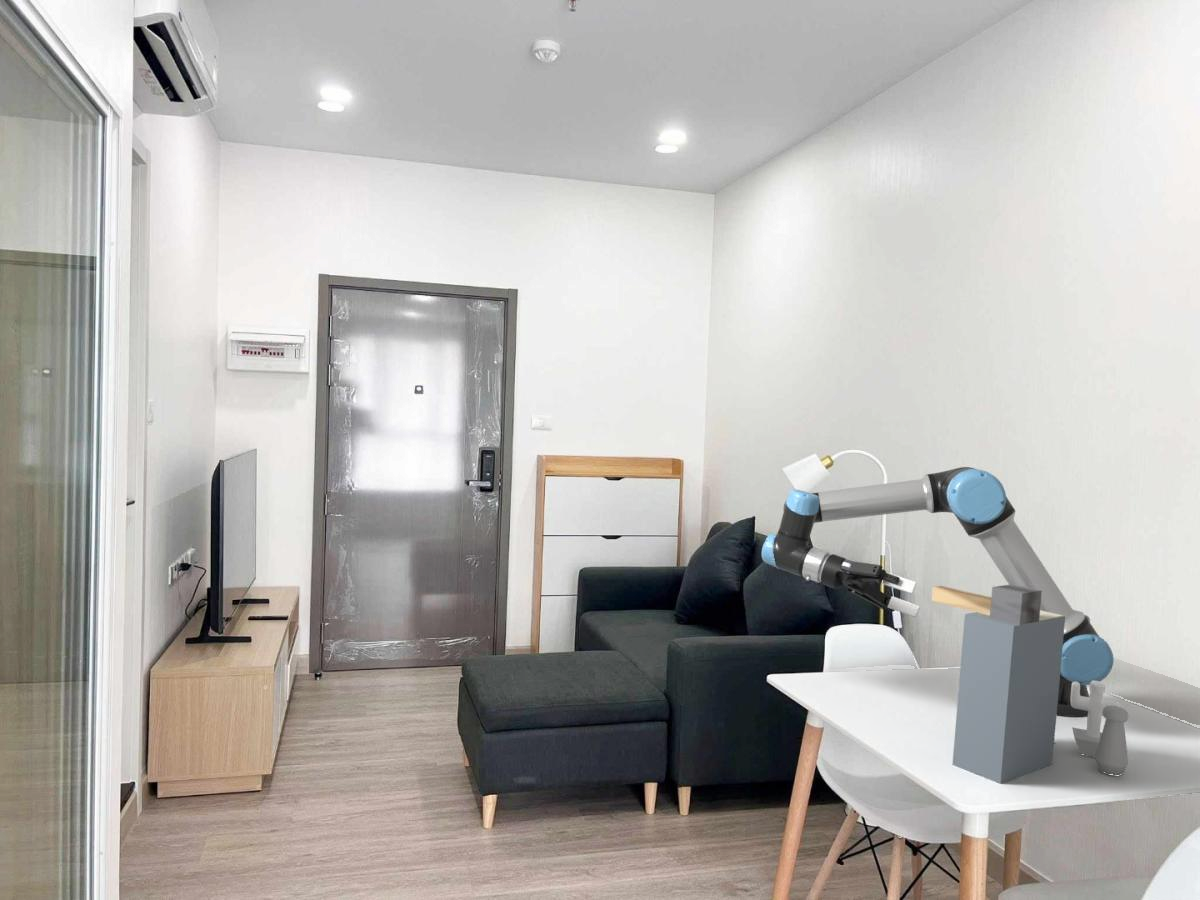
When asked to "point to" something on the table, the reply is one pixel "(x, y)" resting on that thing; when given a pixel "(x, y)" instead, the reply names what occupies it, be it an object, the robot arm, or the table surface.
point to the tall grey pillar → (1008, 695)
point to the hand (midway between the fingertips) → (916, 600)
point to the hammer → (995, 602)
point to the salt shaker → (1113, 742)
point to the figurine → (1090, 715)
